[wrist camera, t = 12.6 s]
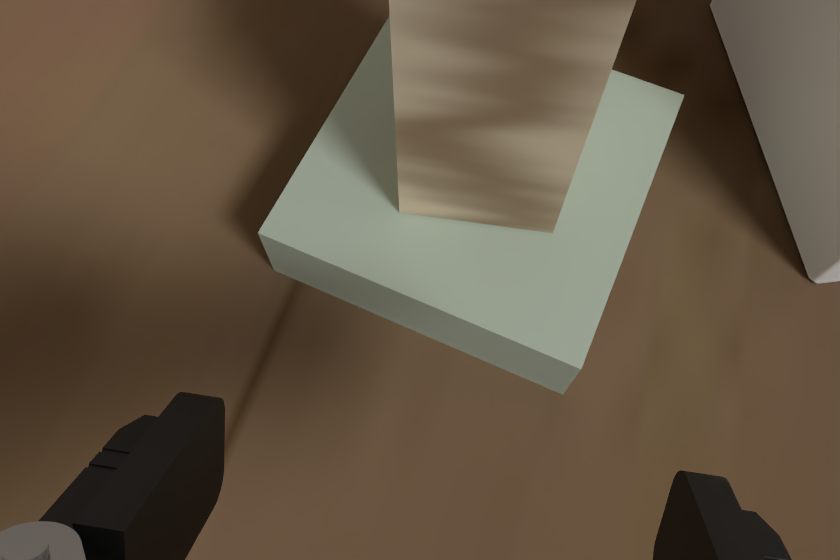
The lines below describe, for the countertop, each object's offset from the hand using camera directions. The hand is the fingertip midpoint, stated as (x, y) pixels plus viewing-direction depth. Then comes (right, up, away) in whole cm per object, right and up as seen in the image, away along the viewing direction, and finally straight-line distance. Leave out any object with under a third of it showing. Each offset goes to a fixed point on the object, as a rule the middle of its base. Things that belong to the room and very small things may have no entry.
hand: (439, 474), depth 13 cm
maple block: (+2, +8, +12) cm, 14 cm away
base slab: (+2, +6, +15) cm, 16 cm away
